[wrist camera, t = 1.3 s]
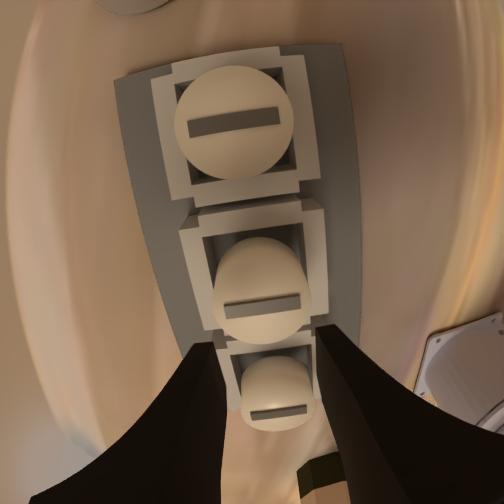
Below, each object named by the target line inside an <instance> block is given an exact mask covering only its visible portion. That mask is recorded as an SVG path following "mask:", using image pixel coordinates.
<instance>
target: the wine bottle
mask: <svg viewBox="0 0 504 504" xmlns="http://www.w3.org/2000/svg"><path fill="white" fill-rule="evenodd" d="M297 478H298V486H299V493H300V500H301V504H351V503H350V497H349V491H348V486H347V481H346V476H345V471H344V467H343V463H342V459H341V456H340V453H339V452H334V453H331V454H328V455H325V456H322V457H318V458H315V459H312V460H309V461H308V462H307V463H306V464H304V465H303V466H302V467H301V468H300V469H299V470H298V471H297Z"/></svg>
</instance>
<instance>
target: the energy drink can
mask: <svg viewBox="0 0 504 504" xmlns="http://www.w3.org/2000/svg"><path fill="white" fill-rule="evenodd" d="M93 1H95V2H96V3H97V4H99V5H100V6H101V7H103V8H104V9H106V10H107V11H109V12H111V13H114V14H119V15H133V14H139V13H143V12H146V11H149V10H152V9H155V8H157V7H159V6H161V5H163V4H164V3H166V2H167V1H169V0H93Z"/></svg>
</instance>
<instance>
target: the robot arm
mask: <svg viewBox="0 0 504 504" xmlns="http://www.w3.org/2000/svg"><path fill="white" fill-rule="evenodd" d="M502 318H503V314H502V313H501V312H498V313H496V314H493V315H490V316H488V317H485V318H482V319H480V320H477V321H474V322H472V323H469V324H466V325H463V326H460V327H457V328H454V329H451V330H448V331H445V332H442V333H439V334H435V335H432V336H431V337H430V338H429V339H428V341H427V345H426V349H425V353H424V357H423V361H422V365H421V368H420V372H419V375H418V379H417V382H416V386H415V389H414V392H411V391H410V390H408V389H407V388H406V387H404V386H403V385H402V384H400V383H399V382H398V381H396V380H395V379H394V378H392V377H391V376H390V375H389V374H387V373H386V372H385V371H384V370H383V369H381V368H380V367H379V366H378V365H377V364H376V363H375V362H373V361H372V360H371V359H370V358H369V357H368V356H367V355H366V354H365V353H364V352H362V351H361V350H360V349H359V348H358V347H357V346H356V345H355V344H354V343H353V342H352V341H351V340H350V339H349V338H348V337H347V336H346V335H345V334H344V332H343V331H342V330H341V329H340V328H339V327H338V326H337V325H335V324H331V325H325V326H320V327H315V343H316V375H317V379H318V384H319V389H320V394H321V398H322V402H323V405H324V408H325V411H326V414H327V417H328V420H329V423H330V426H331V429H332V432H333V435H334V438H335V441H336V444H337V447H338V450H339V453H340V456H341V459H342V463H343V467H344V471H345V476H346V481H347V486H348V491H349V497H350V503H351V504H504V324H503V323H502V322H501V321H502ZM430 393H432V395H433V397H434V398H435V400H436V402H437V404H438V405H439V407H440V409H439V408H437V407H435V406H434V405H432V404H430V403H428V402H427V401H425V400H424V399H422V398H420V397H422V396H425V395H428V394H430ZM226 419H227V388H226V383H225V380H224V376H223V373H222V370H221V366H220V363H219V359H218V356H217V353H216V349H215V346H214V342H213V341H211V342H201V343H194V344H193V345H192V346H191V348H190V349H189V351H188V352H187V354H186V356H185V357H184V359H183V360H182V362H181V363H180V365H179V366H178V368H177V369H176V371H175V372H174V374H173V375H172V377H171V378H170V379H169V381H168V382H167V384H166V385H165V386H164V388H163V389H162V391H161V392H160V393H159V395H158V396H157V397H156V398H155V400H154V401H153V402H152V403H151V405H150V406H149V407H148V408H147V410H146V411H145V412H144V413H143V415H142V416H141V417H140V418H139V419H138V420H137V421H136V422H135V423H134V425H133V426H132V427H131V428H130V429H129V430H128V431H127V432H126V433H125V434H124V435H123V436H122V437H121V438H120V439H119V440H118V441H116V442H115V443H114V444H113V445H112V446H111V447H110V448H108V449H107V450H106V451H105V452H104V453H102V454H101V455H100V456H99V457H98V458H96V459H95V460H94V461H93V462H91V463H90V464H88V465H87V466H86V467H84V468H83V469H82V470H80V471H79V472H77V473H75V474H74V475H72V476H71V477H69V478H67V479H66V480H64V481H62V482H61V483H59V484H57V485H55V486H53V487H51V488H49V489H47V490H45V491H43V492H41V493H39V494H37V495H34V496H32V497H31V499H30V501H29V504H221V467H222V458H223V448H224V439H225V429H226Z"/></svg>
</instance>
